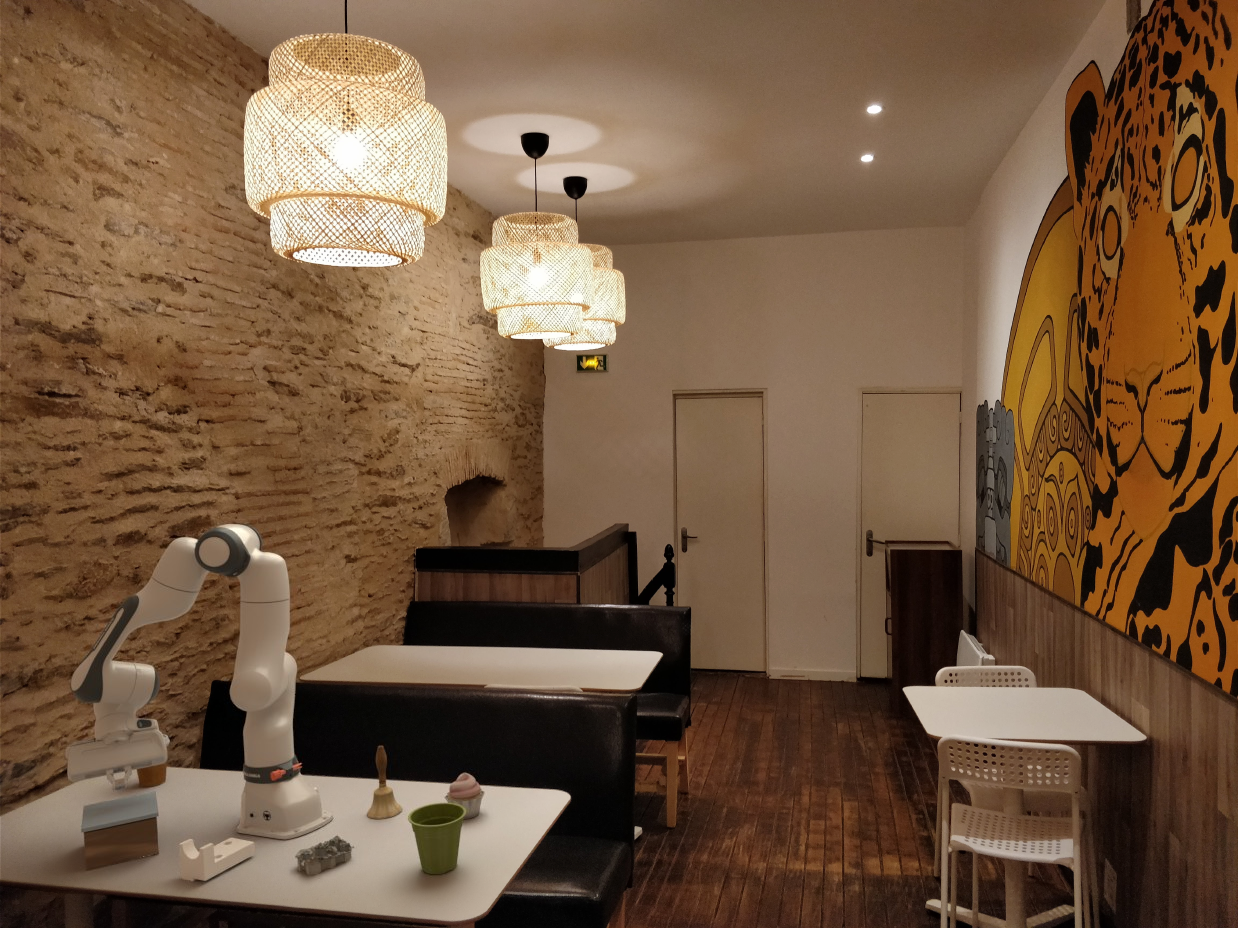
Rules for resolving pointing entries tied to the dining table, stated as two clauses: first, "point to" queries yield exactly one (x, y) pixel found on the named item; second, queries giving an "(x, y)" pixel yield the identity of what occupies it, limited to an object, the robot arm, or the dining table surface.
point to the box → (121, 843)
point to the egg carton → (324, 855)
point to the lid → (119, 811)
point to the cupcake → (466, 794)
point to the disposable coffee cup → (153, 772)
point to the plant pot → (437, 835)
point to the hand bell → (383, 792)
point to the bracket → (212, 857)
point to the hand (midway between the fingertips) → (120, 787)
